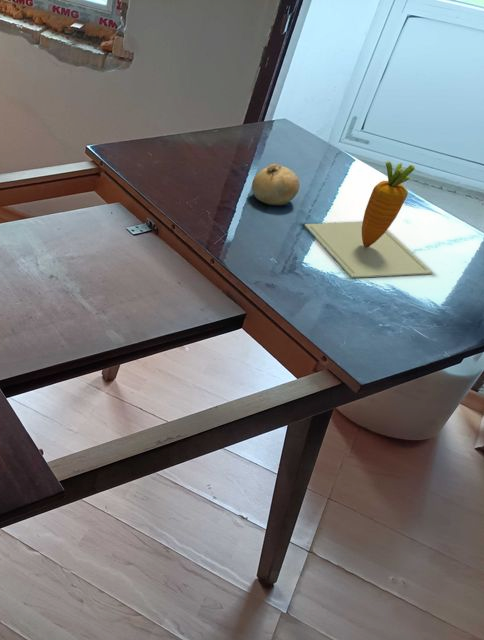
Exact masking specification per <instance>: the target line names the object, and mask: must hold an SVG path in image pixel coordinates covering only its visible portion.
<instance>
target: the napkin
mask: <svg viewBox="0 0 484 640" xmlns="http://www.w3.org/2000/svg"><path fill="white" fill-rule="evenodd" d="M362 223H363V221H351V222H350V221H349V222H348V221H347V222H326V223H325V222H322V223H304V227H305V228H306V230H307V231H309V233H310V234H311V235H312V236H313V237H314V238H315V239H316V241H318V243H319V244H320V245H321V246H322V247H323V248H324V249H325V250H326V251H327V252H328V253H329V255H330V256H331V257H332V258H333V260H335V261H336V263H338V264H339V266H340V267H341V268H342V269H343V270H344V271H345V273H347V275H348V276H349V277H350V278H351V279H358V278H373V277H374V278H377V277H378V278H379V277H396V276H415V275H416V276H419V275H432V274H433V271H431V269H430V268H428V267H427V266H426V264H424V263H423V262H422V261H421V260H420V259H419V258H417V256H416V255H414V253H412V252H411V251H410V250H409V248H407V247H406V246H405V245H404V244H403V243H401V242H400V241H399V240H398V238H397V237H395V236H394V235H393V234H391V232H390V231H389V230H387V231H386V232H385V233H384V234H383V235H382V236H381V237H380V238H379V239H378V240H377V241H376V242H375V243H373V244H372V245H371V246H370V247H367V248H366V247H365V246H364V245H363V241H362Z"/></svg>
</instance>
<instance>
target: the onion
mask: <svg viewBox="0 0 484 640" xmlns="http://www.w3.org/2000/svg"><path fill="white" fill-rule="evenodd" d="M300 186H301V185H300V180H299V178H298V176H297V174H296V173H295V172H294V171H293V170H292V169H289V168H288V167H286V166H283V165H280V164H278V163H276V162H274V163H272V164H269V165H268V166H265V167H264V168H262V169H261V170H260V171H258V173H257V174H256V175H255V176H254V177H253V179H252V183H251V189H252V193H253V195H254V197H255V198H256V200H258V201H259V202H261V203H264V204H266V205H270V206H271V205H272V206H273V205H274V206H286V205H288V204H289V203H290V202H291V201H292V200H294V198H295V197H296V196H297V194H298V193H299V190H300Z"/></svg>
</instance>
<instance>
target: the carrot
mask: <svg viewBox="0 0 484 640" xmlns="http://www.w3.org/2000/svg"><path fill="white" fill-rule="evenodd" d="M385 166H386V173H387V180H382V181H379V183H377V184H376V185H375V186H374V187H373V189H372V192H371V193H370V197H369V199H368V201H367V204H366V207H365V210H364V214H363V218H362V222H363V223H362V241H363V245H364V246H365V247H366V248H367V247H370V246H371V245H372V244H373V243H375V242H376V241H377V240H378V239H379V238H380V237H381V236H382V235H383V234H384V233H385V232H386V231H388V229H389V228H390V227H391V225H392V224H393V222H394V221H395V219H396V218H397V216H398V214H399V213H400V211H401V209H402V207H403V205H404V203H405V201H406V199H407V197H408V194H409V193H408V192H409V191H408V190H407V188H406V187H405V186H404V185H403V183H405V182H407V181H409V180H411V176H409V175H410V174H412V173H413V172H414V171H415V169H416V167H415V165H413V164H410V165H408V167H406V168H405V169H403V168H402V167H403V163H398V164H397V165H396V167H395V171H394V173H393V166H392V162H391V161H390V160H388V161H386V162H385Z"/></svg>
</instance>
